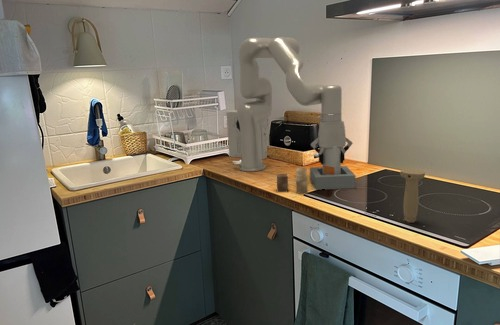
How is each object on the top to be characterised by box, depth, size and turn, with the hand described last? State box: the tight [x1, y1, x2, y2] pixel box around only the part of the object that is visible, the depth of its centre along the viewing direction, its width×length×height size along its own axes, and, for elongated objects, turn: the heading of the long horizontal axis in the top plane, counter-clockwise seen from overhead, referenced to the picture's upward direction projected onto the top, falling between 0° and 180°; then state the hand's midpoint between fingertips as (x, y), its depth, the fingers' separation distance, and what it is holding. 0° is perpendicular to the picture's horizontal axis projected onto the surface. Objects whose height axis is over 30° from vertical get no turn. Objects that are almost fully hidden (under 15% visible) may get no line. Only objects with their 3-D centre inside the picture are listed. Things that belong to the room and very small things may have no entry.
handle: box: [399, 168, 426, 223], centre depth 109 cm, size 5×6×15 cm
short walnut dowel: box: [276, 173, 289, 193], centre depth 145 cm, size 4×4×6 cm
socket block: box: [309, 165, 356, 191], centre depth 151 cm, size 15×15×5 cm
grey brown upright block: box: [295, 167, 308, 195], centre depth 141 cm, size 4×4×9 cm
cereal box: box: [226, 109, 270, 160], centre depth 205 cm, size 22×8×25 cm, turn 60°
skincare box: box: [322, 146, 342, 175], centre depth 149 cm, size 6×4×12 cm
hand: (331, 162), depth 149 cm, fingers closed on skincare box, 7 cm apart
